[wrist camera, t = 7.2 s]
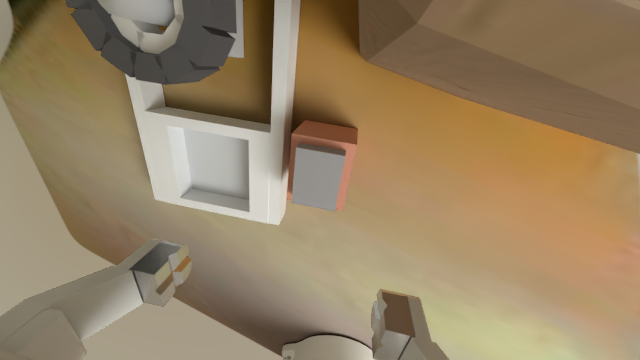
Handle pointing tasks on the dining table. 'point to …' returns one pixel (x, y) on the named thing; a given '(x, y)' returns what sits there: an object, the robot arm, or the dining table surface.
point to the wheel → (162, 40)
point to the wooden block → (519, 57)
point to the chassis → (218, 129)
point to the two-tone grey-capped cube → (321, 164)
